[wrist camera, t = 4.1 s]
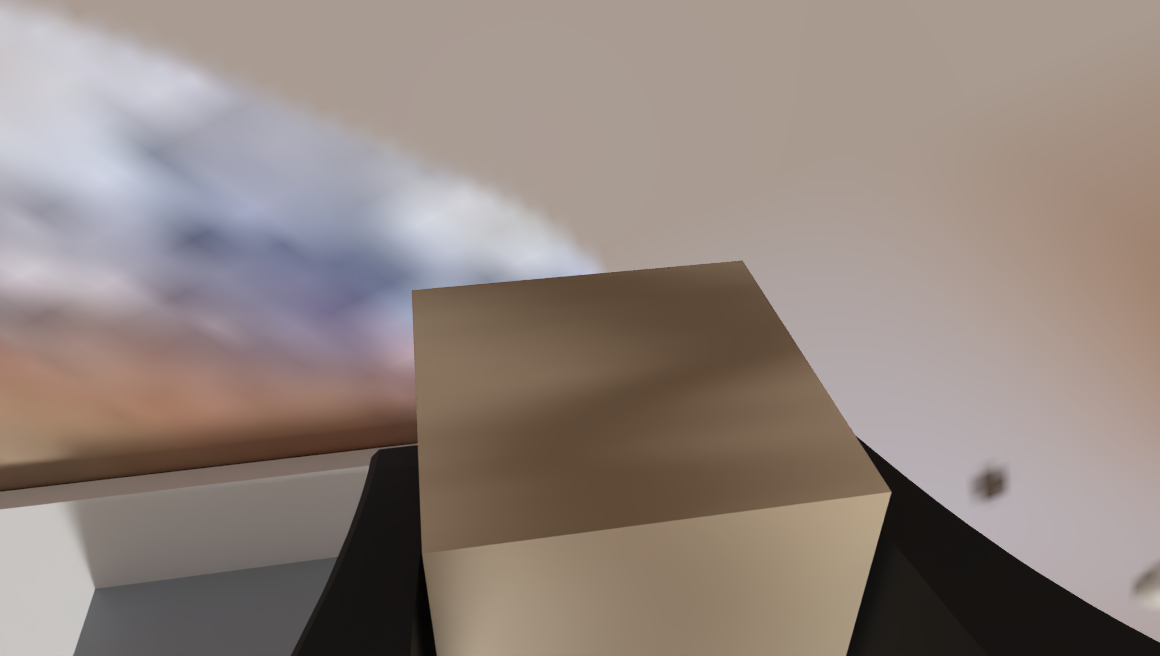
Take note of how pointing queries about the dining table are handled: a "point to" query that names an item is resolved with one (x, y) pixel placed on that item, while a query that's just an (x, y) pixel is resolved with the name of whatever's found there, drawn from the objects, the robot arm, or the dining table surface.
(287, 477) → the base
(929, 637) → the robot arm
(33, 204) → the dining table surface
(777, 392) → the maple block
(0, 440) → the dining table surface
